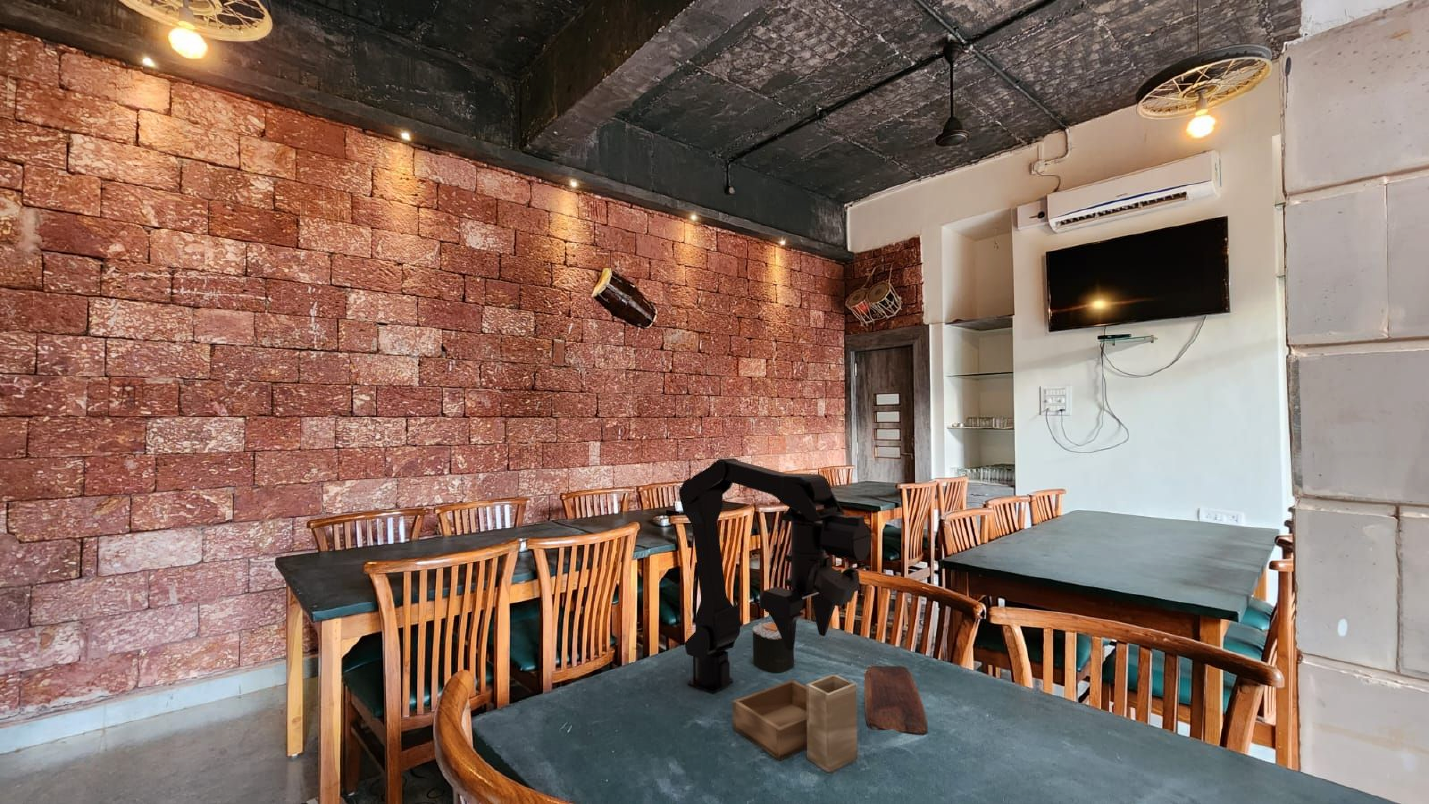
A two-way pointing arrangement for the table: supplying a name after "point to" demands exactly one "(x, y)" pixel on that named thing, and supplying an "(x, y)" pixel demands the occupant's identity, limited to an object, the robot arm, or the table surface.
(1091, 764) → the table surface
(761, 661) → the sushi
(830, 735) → the birch crate
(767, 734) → the oak crate
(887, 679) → the wooden tablet
